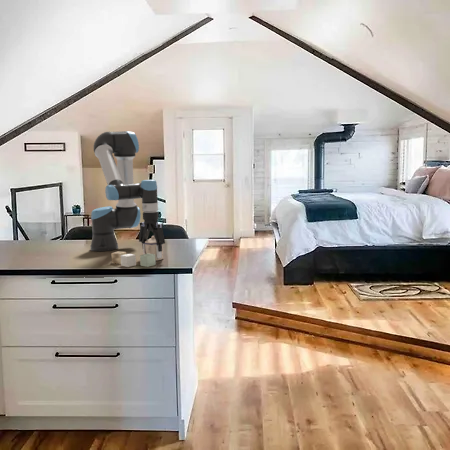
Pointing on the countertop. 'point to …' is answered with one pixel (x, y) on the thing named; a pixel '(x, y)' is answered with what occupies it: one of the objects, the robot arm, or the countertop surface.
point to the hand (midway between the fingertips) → (152, 256)
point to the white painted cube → (128, 260)
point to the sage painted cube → (147, 260)
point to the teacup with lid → (152, 247)
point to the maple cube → (117, 257)
